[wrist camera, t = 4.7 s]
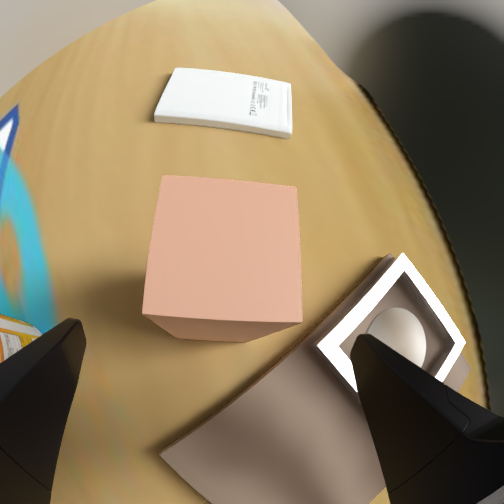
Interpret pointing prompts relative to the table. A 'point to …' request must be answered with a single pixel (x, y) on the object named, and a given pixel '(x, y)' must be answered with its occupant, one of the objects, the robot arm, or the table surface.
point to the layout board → (320, 403)
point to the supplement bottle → (15, 335)
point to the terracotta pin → (224, 259)
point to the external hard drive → (227, 102)
